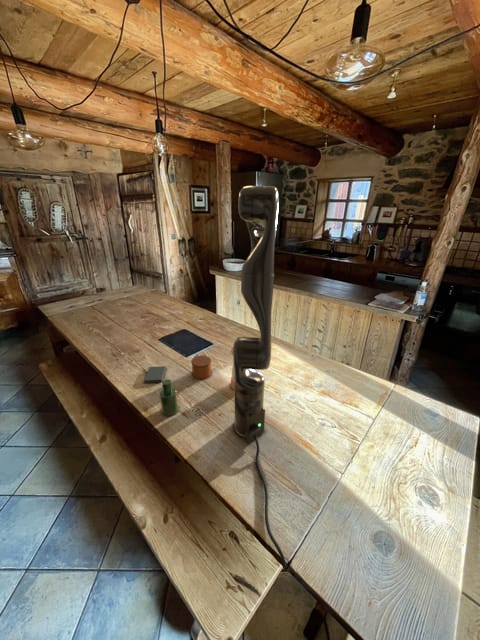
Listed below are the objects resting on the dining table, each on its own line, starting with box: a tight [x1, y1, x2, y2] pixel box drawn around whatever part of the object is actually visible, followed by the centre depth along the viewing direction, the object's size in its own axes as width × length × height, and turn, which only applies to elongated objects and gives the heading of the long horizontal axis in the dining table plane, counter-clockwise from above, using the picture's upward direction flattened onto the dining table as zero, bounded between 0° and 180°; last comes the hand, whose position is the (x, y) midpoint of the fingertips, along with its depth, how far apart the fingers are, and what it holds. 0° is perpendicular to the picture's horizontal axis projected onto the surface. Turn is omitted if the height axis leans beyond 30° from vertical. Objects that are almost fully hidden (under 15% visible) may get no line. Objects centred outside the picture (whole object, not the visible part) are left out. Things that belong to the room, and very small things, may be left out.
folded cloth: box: [143, 365, 167, 384], centre depth 115 cm, size 10×7×1 cm
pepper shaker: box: [230, 345, 235, 391], centre depth 105 cm, size 7×7×19 cm
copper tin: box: [190, 355, 212, 380], centre depth 115 cm, size 8×8×7 cm
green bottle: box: [159, 378, 179, 417], centre depth 93 cm, size 6×6×12 cm
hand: (258, 287), depth 128 cm, fingers open, 8 cm apart
